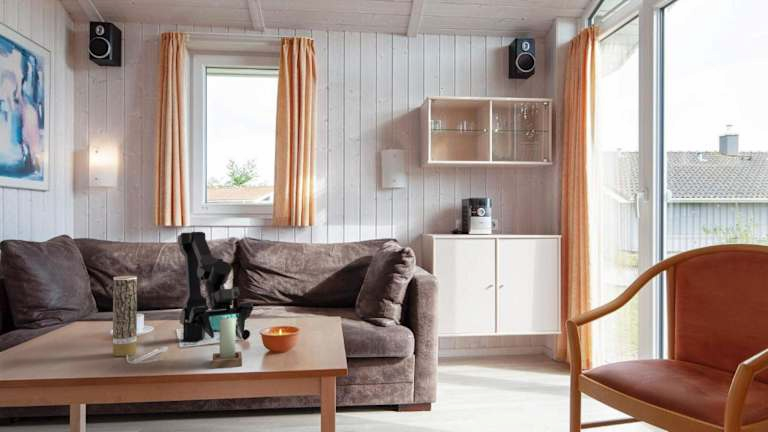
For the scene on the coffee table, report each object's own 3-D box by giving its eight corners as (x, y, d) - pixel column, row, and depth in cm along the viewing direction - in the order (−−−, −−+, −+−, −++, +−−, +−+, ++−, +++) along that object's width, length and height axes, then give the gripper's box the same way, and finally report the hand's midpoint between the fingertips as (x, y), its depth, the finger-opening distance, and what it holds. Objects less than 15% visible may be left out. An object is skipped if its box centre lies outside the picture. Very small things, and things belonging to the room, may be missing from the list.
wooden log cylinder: (141, 352, 163) (141, 276, 163) (124, 358, 157) (124, 278, 157) (125, 350, 165) (125, 275, 165) (107, 356, 159) (108, 277, 159)
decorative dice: (223, 332, 193) (223, 311, 193) (207, 330, 196) (207, 309, 196) (237, 328, 200) (237, 308, 200) (222, 326, 203) (222, 306, 203)
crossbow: (150, 369, 150) (149, 362, 149) (114, 366, 152) (114, 359, 152) (182, 351, 165) (182, 345, 165) (149, 349, 168) (149, 343, 168)
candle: (218, 362, 149) (219, 318, 149) (220, 358, 154) (220, 315, 154) (234, 361, 150) (235, 317, 150) (235, 357, 155) (236, 314, 155)
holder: (212, 368, 146) (212, 360, 146) (213, 360, 154) (213, 353, 155) (241, 366, 149) (242, 358, 149) (241, 358, 157) (241, 351, 157)
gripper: (192, 280, 150) (202, 323, 141) (251, 276, 161) (264, 316, 152) (184, 303, 156) (194, 345, 147) (242, 297, 167) (254, 336, 159)
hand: (228, 335), depth 151 cm, fingers open, 9 cm apart
